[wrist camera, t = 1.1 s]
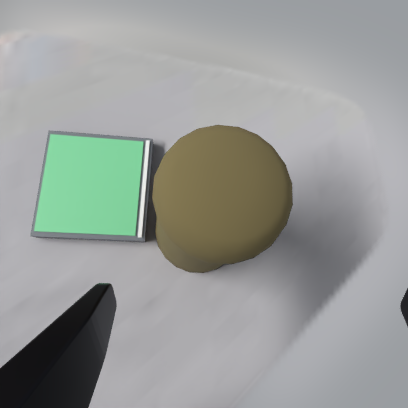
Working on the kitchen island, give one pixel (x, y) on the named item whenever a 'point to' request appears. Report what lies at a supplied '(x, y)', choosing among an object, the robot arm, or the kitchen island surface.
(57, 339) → the robot arm
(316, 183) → the kitchen island surface
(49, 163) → the plate
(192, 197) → the cork
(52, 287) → the kitchen island surface
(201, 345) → the kitchen island surface
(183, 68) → the kitchen island surface
